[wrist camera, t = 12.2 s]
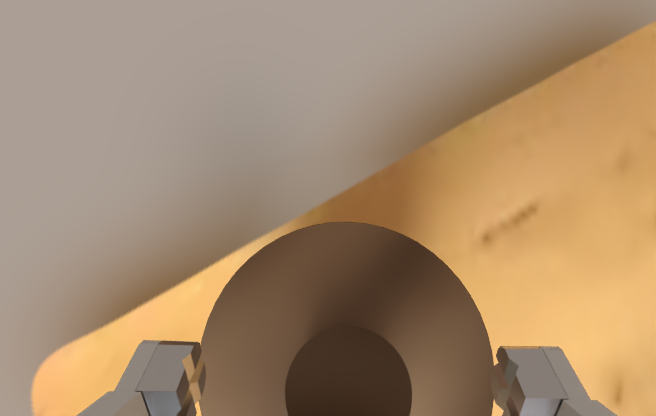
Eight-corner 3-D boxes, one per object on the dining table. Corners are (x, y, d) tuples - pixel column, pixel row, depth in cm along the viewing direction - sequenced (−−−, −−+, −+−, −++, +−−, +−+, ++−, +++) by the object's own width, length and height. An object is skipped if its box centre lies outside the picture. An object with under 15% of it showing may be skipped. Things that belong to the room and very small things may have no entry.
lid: (521, 293, 18) (641, 275, 11) (422, 582, 15) (494, 804, 8) (281, 188, 19) (249, 111, 12) (155, 436, 17) (22, 520, 10)
